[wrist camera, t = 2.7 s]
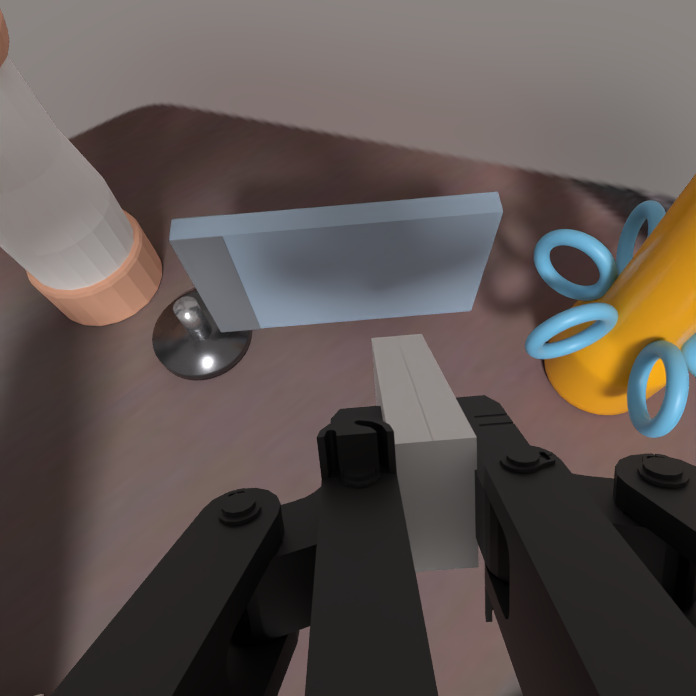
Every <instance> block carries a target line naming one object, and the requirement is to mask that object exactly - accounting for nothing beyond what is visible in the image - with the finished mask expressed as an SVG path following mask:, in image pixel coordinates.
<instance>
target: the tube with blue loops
mask: <svg viewBox="0 0 696 696" xmlns="http://www.w3.org/2000/svg"><path fill="white" fill-rule="evenodd" d="M646 218H647V220H648V237H647V239H646V241H645V242H644V243H643V245H642V246H641V247H640V249H639V250H638V251H637V253H636V254H635V255H634V257H633V249H634V244H635V240H636V237H637V234H638V232H639V230H640V227H641V226H642V224H643V222H644V221H645V220H646ZM560 245H565V246H571V247H574V248H577V249H579V250H581V251H583V252H584V253H586V254H587V255H588V256H589V257H590V258H591V259H592V260H593V261H594V262H595V264H596V265H597V267H598V270H599V274H600V277H599V280H598V282H597V283H596V284H594V285H590V286H582V285H577V284H574V283H572V282H570V281H568V280H566V279H565V278H563V277H562V276H561V275H560V274H559V273H558V272H557V271H556V270H555V269H554V267H553V266H552V264H551V261H550V251H551V250H552V248H554V247H556V246H560ZM534 263H535V266H536V269H537V271H538V273H539V275H540V276H541V278H542V279H543V280H544V281H545V282H546V283H547V284H548V285H549V286H550V287H551V288H552V289H554V290H555V291H557V292H558V293H560V294H562V295H564V296H566V297H568V298H571V299H575V300H578V301H577V302H576V303H575V304H574V305H573V306H572V308H570V309H568V310H565V311H563V312H561V313H558V314H556V315H554V316H553V317H551V318H549V319H547V320H546V321H544V322H543V323H541V324H540V325H539V326H537V327H536V328H535V329H534V330H533V331H532V332H531V333H530V334H529V336H528V337H527V339H526V342H525V349H526V352H527V353H528V354H529V355H530V356H532V357H534V358H537V359H544V363H545V370H546V373H547V376H548V379H549V381H550V383H551V384H552V386H553V388H554V389H555V390H556V391H557V392H558V394H559V395H560V396H561V397H562V398H564V399H565V400H566V401H567V402H568V403H570V404H572V405H573V406H575V407H577V408H578V409H581V410H584V411H586V412H588V413H594V414H598V415H616V414H622V413H625V412H629V416H630V419H631V421H632V423H633V425H634V427H635V428H636V429H637V430H638V431H639V432H640V433H641V434H643V435H645V436H647V437H652V438H656V437H661V436H664V435H666V434H667V433H669V432H670V431H671V430H672V429H673V428H674V427H675V426H676V424H677V423H678V421H679V420H680V418H681V416H682V414H683V411H684V408H685V405H686V402H687V397H688V390H689V374H688V370H689V372H690V373H691V374H692V375H693V376H695V377H696V174H695V175H694V177H693V178H692V179H691V181H690V182H689V183H688V185H687V186H686V187H685V189H684V190H683V191H682V193H681V194H680V195H679V197H678V198H677V199H676V201H675V202H674V203H673V205H672V206H671V207H670V209H669V210H668V211H667V213H665V210H664V208H663V207H662V205H661V204H659V203H658V202H656V201H645V202H643V203H641V204H639V205H638V206H637V207H636V208H635V209H634V210H633V211H632V212H631V214H630V215H629V217H628V219H627V221H626V223H625V225H624V227H623V230H622V232H621V235H620V239H619V243H618V248H617V256H616V262H615V260H614V258H613V256H612V254H611V253H610V251H609V250H608V249H607V248H606V247H605V246H604V245H603V244H602V243H601V242H600V241H598V240H597V239H595V238H594V237H592V236H590V235H588V234H586V233H584V232H581V231H577V230H572V229H559V230H554V231H551V232H549V233H547V234H545V235H544V236H543V237H542V238H541V239H540V240H539V241H538V243H537V244H536V247H535V250H534ZM550 338H551V339H550ZM549 339H550V341H549V342H548V343H545V342H547V341H548V340H549ZM665 385H666V389H665V395H664V399H663V403H662V405H661V408H660V410H659V412H658V413H657V415H656V416H655V417H654V418H653V419H651V418H650V416H649V414H648V411H647V406H646V400H647V399H648V398H649V397H651V396H652V395H653V394H655V393H656V392H657V391H659V390H660V389H661V388H663V387H664V386H665Z"/></svg>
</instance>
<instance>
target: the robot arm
mask: <svg viewBox="0 0 696 696" xmlns="http://www.w3.org/2000/svg"><path fill="white" fill-rule="evenodd" d="M371 340H372V353H373V365H374V378H375V391H376V404H377V406H370V407H359V408H347V409H340V410H339V411H338V412H337V413H336V414H335V415H334V416H333V417H332V418H331V424H329V425H327V426H326V427H324V428H323V429H322V430H320V432H319V434H318V436H317V443H318V452H319V460H320V468H321V477H322V484H321V487H320V488H319V489H318V490H316V491H315V492H314V493H312V494H310V495H309V496H307V497H305V498H302V499H299V500H297V501H294V502H290V503H287V504H283V505H281V504H280V502H279V499H278V497H277V496H276V495H275V494H273V493H272V492H270V491H269V490H264V489H259V488H247V489H245V488H243V489H237V490H233V491H230V492H228V493H226V494H224V495H222V496H220V497H218V498H216V499H214V500H212V501H211V502H210V503H209V504H208V505H207V506H206V507H205V508H203V510H202V511H201V512H200V513H199V515H198V516H197V517H196V518H195V519H194V521H193V522H192V523H191V524H190V526H189V527H188V528H187V529H186V530H185V532H184V533H183V534H182V535H181V537H180V538H179V539H178V540H177V541H176V543H175V544H174V545H173V546H172V548H171V549H170V550H169V551H168V552H167V554H166V555H165V556H164V557H163V559H162V560H161V561H160V562H159V563H158V565H157V566H156V567H155V568H154V570H153V571H152V572H151V573H150V574H149V576H148V577H147V578H146V579H145V581H144V582H143V583H142V584H141V585H140V587H139V588H138V589H137V590H136V591H135V593H134V594H133V595H132V596H131V598H130V599H129V600H128V601H127V602H126V604H125V605H124V606H123V607H122V609H121V610H120V611H119V612H118V613H117V615H116V616H115V617H114V618H113V620H112V621H111V622H110V623H109V624H108V626H107V627H106V628H105V629H104V631H103V632H102V633H101V634H100V635H99V637H98V638H97V639H96V640H95V642H94V643H93V644H92V645H91V646H90V648H89V649H88V650H87V651H86V653H85V654H84V655H83V656H82V657H81V659H80V660H79V661H78V662H77V664H76V665H75V666H74V667H73V668H72V670H71V671H70V672H69V673H68V675H67V676H66V677H65V678H64V679H63V681H62V682H61V683H60V684H59V686H58V687H57V688H56V689H55V690H54V692H53V693H52V694H51V695H50V696H277V695H278V692H279V690H280V687H281V685H282V682H283V679H284V677H285V674H286V671H287V669H288V666H289V663H290V661H291V658H292V655H293V653H294V650H295V647H296V645H297V642H298V636H299V630H300V629H303V628H306V627H309V626H310V637H309V650H308V663H307V676H306V688H305V696H438V692H437V686H436V681H435V676H434V670H433V665H432V660H431V654H430V649H429V643H428V638H427V633H426V627H425V622H424V617H423V611H422V606H421V601H420V595H419V590H418V584H417V579H416V574H415V572H421V571H434V570H447V569H460V568H473V567H478V545H479V547H480V550H481V553H482V555H483V558H484V561H485V616H486V622H492V610H494V613H495V616H496V619H497V622H498V624H499V627H500V630H501V633H502V636H503V639H504V642H505V645H506V647H507V650H508V653H509V656H510V659H511V662H512V665H513V667H514V670H515V673H516V676H517V679H518V682H519V685H520V687H521V690H522V693H523V696H696V466H693V465H691V464H689V463H686V462H684V461H682V460H679V459H675V458H671V457H668V456H666V455H660V454H655V455H653V454H640V455H631V456H628V457H626V458H623V459H621V460H619V462H618V463H617V465H616V466H615V475H614V479H612V478H602V477H592V476H584V475H577V474H572V473H571V472H570V471H569V469H568V468H567V467H566V466H565V464H564V463H563V462H562V460H561V459H559V458H558V457H557V456H556V455H555V454H553V453H552V452H549V451H547V450H545V449H542V448H540V447H535V446H530V445H529V443H528V442H527V441H526V439H525V438H524V436H523V435H522V434H521V432H520V431H519V430H518V428H517V427H516V425H515V424H513V421H512V420H511V419H510V417H509V416H508V415H507V413H506V412H505V410H504V409H503V408H502V406H501V405H500V403H498V402H496V401H494V400H492V399H490V398H489V397H487V396H485V395H483V396H471V397H459V398H455V396H454V394H453V392H452V390H451V388H450V386H449V385H448V383H447V381H446V379H445V377H444V375H443V373H442V371H441V370H440V368H439V366H438V364H437V362H436V360H435V358H434V356H433V355H432V353H431V351H430V349H429V347H428V345H427V343H426V341H425V339H424V338H423V336H422V334H414V335H402V336H391V337H379V338H371Z"/></svg>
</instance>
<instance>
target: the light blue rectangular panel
mask: <svg viewBox="0 0 696 696" xmlns="http://www.w3.org/2000/svg"><path fill="white" fill-rule="evenodd" d="M502 214H503V209H502V205H501V201H500V198H499V194H498V192H488V193H476V194H465V195H453V196H441V197H430V198H418V199H407V200H395V201H383V202H372V203H360V204H348V205H337V206H325V207H314V208H302V209H290V210H279V211H267V212H255V213H244V214H232V215H211V216H199V217H188V218H176V219H172V220H171V229H170V237H169V242H170V244H171V246H172V247H173V249H174V251H175V253H176V254H177V256H178V258H179V260H180V261H181V263H182V265H183V267H184V268H185V270H186V272H187V274H188V275H189V277H190V279H191V281H192V282H193V284H194V286H195V288H196V289H197V291H198V293H199V294H200V296H201V298H202V300H203V301H204V303H205V305H206V307H207V308H208V310H209V312H210V314H211V315H212V317H213V319H214V321H215V322H216V324H217V326H218V328H219V329H220V331H221V332H231V331H243V330H255V329H261V328H271V327H283V326H295V325H307V324H319V323H331V322H343V321H355V320H367V319H379V318H391V317H404V316H416V315H428V314H440V313H452V312H464V311H471V309H472V306H473V303H474V300H475V297H476V294H477V291H478V288H479V285H480V282H481V279H482V275H483V272H484V269H485V266H486V263H487V260H488V257H489V254H490V251H491V248H492V245H493V242H494V239H495V236H496V233H497V230H498V227H499V224H500V220H501V217H502Z"/></svg>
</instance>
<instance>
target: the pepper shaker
mask: <svg viewBox="0 0 696 696" xmlns="http://www.w3.org/2000/svg"><path fill="white" fill-rule="evenodd" d="M8 47H9V36H8V30H7V27H6V23H5V20H4V17H3V14H2V12H1V10H0V247H1V248H2V249H3V250H4V251H6V252H7V253H8V254H9V255H10V256H11V257H12V258H13V259H15V260H16V261H17V262H18V263H19V264H20V265H21V266H22V267H24V268H25V269H26V272H27V275H28V278H29V281H30V283H31V284H33V285H34V286H35V287H36V288H37V289H38V290H39V291H40V292H41V293H42V294H43V295H44V296H45V297H46V298H47V299H48V300H49V301H51V302H52V303H53V304H54V305H55V306H56V307H57V308H58V309H59V310H60V311H61V312H62V313H64V314H65V315H66V316H67V317H68V318H69V319H70V320H72V321H75V322H77V323H80V324H82V325H90V326H104V325H108V324H113V323H117V322H120V321H122V320H124V319H126V318H128V317H130V316H132V315H134V314H136V313H137V312H138V311H139V310H140V309H142V308H143V307H144V306H145V305H146V304H148V303H149V301H150V300H151V298H152V297H153V296H154V294H155V293H156V291H157V290H158V287H159V284H160V281H161V278H162V264H161V260H160V258H159V257H158V255H157V253H156V251H155V249H154V248H153V246H152V244H151V243H150V241H149V240H148V238H147V236H146V235H145V233H144V232H143V230H142V229H141V227H140V225H139V224H138V222H137V221H136V219H135V218H134V217H132V216H131V215H130V214H129V213H127V212H126V211H125V210H123V209H122V208H121V207H120V205H119V203H118V202H117V200H116V198H115V197H114V195H113V193H112V192H111V190H110V188H109V187H108V185H107V183H106V182H105V180H104V178H103V177H102V176H101V175H100V174H99V173H98V172H97V171H96V169H95V168H94V167H93V166H92V165H91V164H90V163H89V162H88V161H87V160H86V159H85V157H84V156H83V155H82V154H81V153H80V152H79V151H78V150H77V149H76V148H75V147H74V145H73V144H72V143H71V142H70V141H69V140H68V139H67V138H66V137H65V136H64V135H63V133H62V132H61V131H60V130H59V129H58V128H57V127H56V126H55V124H54V123H53V121H52V120H51V118H50V117H49V115H48V114H47V112H46V111H45V109H44V108H43V106H42V105H41V103H40V102H39V101H38V99H37V98H36V96H35V95H34V93H33V92H32V90H31V89H30V87H29V86H28V84H27V83H26V81H25V80H24V79H23V77H22V76H21V74H20V73H19V71H18V70H17V68H16V67H15V66H14V64H13V62H12V61H11V59H10V58H9V57H8Z"/></svg>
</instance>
